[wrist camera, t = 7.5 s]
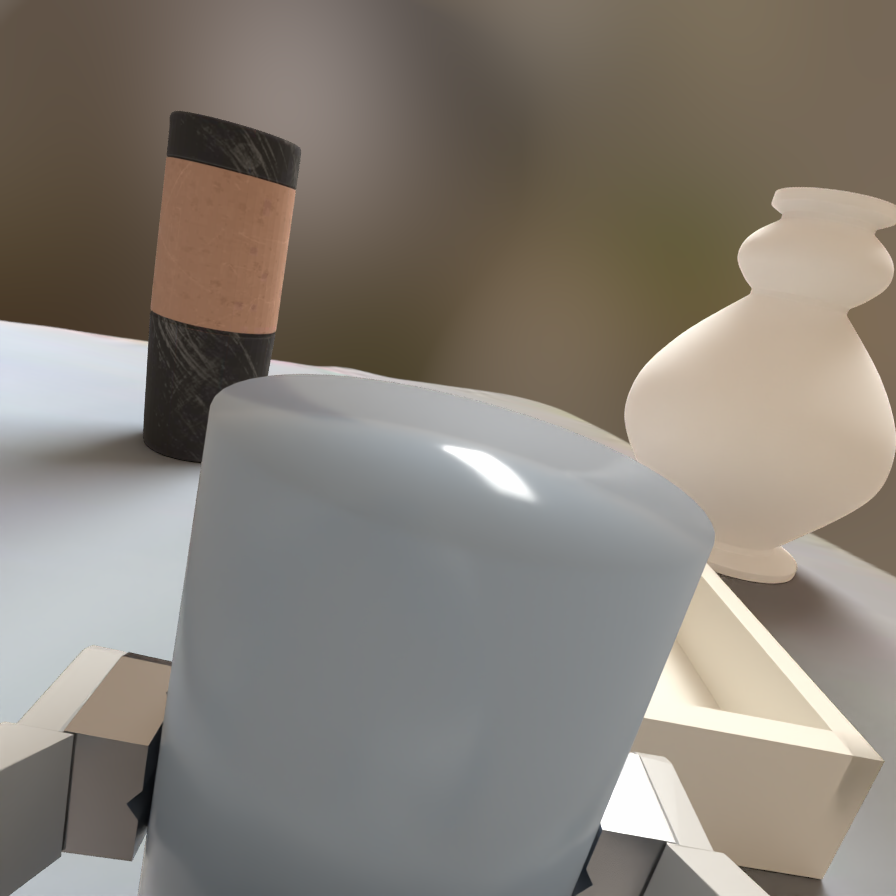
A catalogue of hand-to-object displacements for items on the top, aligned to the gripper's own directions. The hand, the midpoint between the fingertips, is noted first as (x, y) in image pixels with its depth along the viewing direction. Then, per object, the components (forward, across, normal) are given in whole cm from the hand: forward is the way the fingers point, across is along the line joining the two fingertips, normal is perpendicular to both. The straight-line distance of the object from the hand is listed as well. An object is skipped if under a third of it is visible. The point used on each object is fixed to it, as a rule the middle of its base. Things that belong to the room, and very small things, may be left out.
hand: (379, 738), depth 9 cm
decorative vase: (+36, -24, +8) cm, 45 cm away
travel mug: (+34, +14, +9) cm, 38 cm away
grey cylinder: (-1, 0, +6) cm, 6 cm away
